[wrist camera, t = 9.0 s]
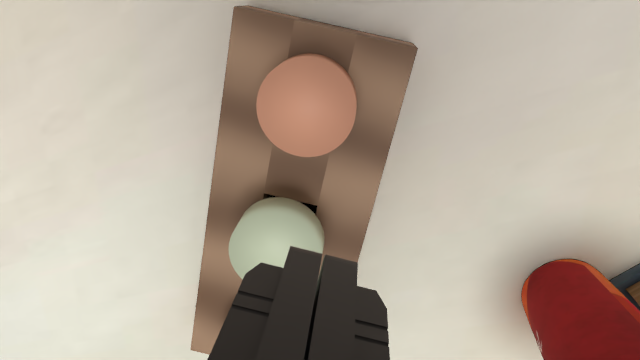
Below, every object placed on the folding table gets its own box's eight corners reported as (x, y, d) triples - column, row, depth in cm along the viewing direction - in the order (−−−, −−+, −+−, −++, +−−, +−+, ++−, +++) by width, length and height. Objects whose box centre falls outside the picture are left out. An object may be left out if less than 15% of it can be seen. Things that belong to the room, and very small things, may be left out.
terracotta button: (282, 39, 27) (264, 47, 23) (367, 58, 27) (366, 70, 23) (268, 121, 29) (249, 145, 25) (347, 140, 29) (343, 166, 25)
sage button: (256, 169, 29) (235, 202, 24) (336, 188, 29) (330, 224, 24) (244, 239, 31) (223, 282, 26) (319, 257, 31) (311, 302, 26)
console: (247, 5, 27) (234, 6, 24) (412, 43, 27) (417, 48, 24) (204, 323, 36) (190, 349, 33) (327, 351, 36) (323, 381, 33)
